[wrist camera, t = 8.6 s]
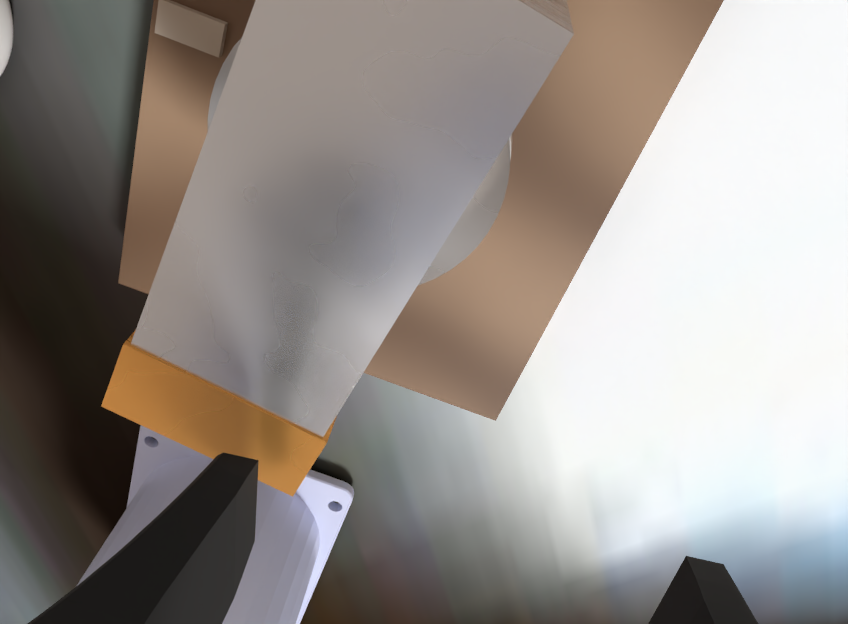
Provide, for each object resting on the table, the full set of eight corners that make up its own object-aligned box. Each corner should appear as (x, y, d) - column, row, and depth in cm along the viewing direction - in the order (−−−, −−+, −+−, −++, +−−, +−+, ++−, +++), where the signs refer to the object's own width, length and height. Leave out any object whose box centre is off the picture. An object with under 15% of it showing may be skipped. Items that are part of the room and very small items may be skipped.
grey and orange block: (617, 13, 13) (657, 85, 9) (392, 361, 18) (345, 521, 14) (324, -170, 12) (203, -193, 8) (171, 247, 17) (41, 378, 13)
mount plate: (498, 390, 23) (491, 479, 20) (141, 259, 22) (71, 328, 19) (795, -174, 15) (872, -187, 11) (239, -415, 14) (143, -506, 11)
